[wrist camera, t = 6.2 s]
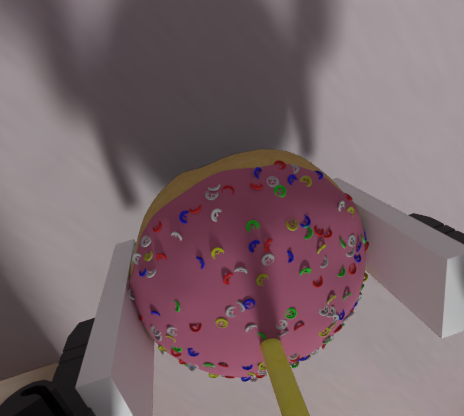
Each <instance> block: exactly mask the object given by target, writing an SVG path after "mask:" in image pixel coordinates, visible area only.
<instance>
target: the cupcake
mask: <svg viewBox="0 0 464 416" xmlns="http://www.w3.org/2000/svg"><path fill="white" fill-rule="evenodd" d="M352 200H353V198H352V197H351V196H350V195H349V194H347V193H344V192H343V191H342V190H341V189H340V188H339V187H338V185H337V184H336V183H335V182H334V181H333V180H332V179H331V178H330V177H329V176H327V175H326V174H325V173H324V172H322V171H321V170H320V169H319V168H317V167H316V166H315V165H313V164H312V163H311V162H309V161H308V160H306V159H304V158H302V157H300V156H298V155H296V154H294V153H291V152H287V151H283V150H272V149H258V150H253V151H248V152H243V153H238V154H234V155H231V156H228V157H225V158H222V159H220V160H218V161H216V162H213V163H211V164H209V165H206V166H204V167H202V168H199V169H195V170H191V171H187V172H184V173H182V174H180V175H178V176H177V177H175V178H174V179H173V180H172V181H171V182H170V183H169V184H168V185H167V186H166V187H165V188H164V189H163V190H162V191H161V192H160V193H159V194H158V195H157V197H156V198H155V199H154V201H153V202H152V204H151V205H150V207H149V209H148V211H147V213H146V215H145V217H144V219H143V222H142V225H141V228H140V231H139V235H138V239H137V242H136V246H135V250H134V254H133V256H132V264H131V269H130V281H129V290H128V296H129V298H130V299H132V300H133V301H134V304H135V307H136V310H137V312H138V315H139V319H140V321H142V323H143V324H144V326H145V328H146V329H147V331H148V332H149V334H150V335H151V337H152V338H153V339H154V341H155V342H156V343H157V344H158V345H159V346H158V349H159V350H160V351H161V353H162V354H163V355H165V351H166V352H168V353H169V354H170V355H172V356H173V357H175V358H177V359H178V360H179V363H180V364H184V365H185V366H187V367H188V368H189V369H190V370H191V371H195V370H196V369H197V368H198V369H201V370H203V371H206V372H209V377H211V378H216V377H218V376H219V375H221V376H222V377H225V378H235V377H238V378H241V380H242V381H248V380H250V381H251V382H256V381H257V378H263V377H266V376H267V373H268V374H269V377H270V380H271V383H272V386H273V389H274V392H275V395H276V398H277V402H278V405H279V408H280V411H281V414H282V416H310V415H309V413H308V410H307V407H306V405H305V402H304V400H303V397H302V395H301V392H300V390H299V387H298V385H297V382H296V379H295V377H294V374H293V372H292V369H291V368H296V367H297V366H298V365H299V361H304V360H308V359H310V357H311V356H310V355H314V354H317V353H318V352H319V350H318V349H319V348H320V347H321V346H322V345H323V346H322V349H324V347H325V345H326V343H328V342H330V341H332V340H333V338H334V337H333V335H334V334H335V333H336V332H338V331H339V330H340V329H341V328H342V326H344V325H345V324H343V323H344V321H346V320H347V319H348V318H349V317H351V316H352V315H353V314H354V312H353V310H354V307H355V306H356V305H357V303H358V301H359V300H360V299H361V295H362V293H361V292H360V291H361V290H362V289H363V287H364V284H363V282H365V281H366V280H367V279H368V275H367V273H364V272H365V265H366V251H367V249H368V247H369V242H366V240H367V239H366V237H365V235H366V232H365V231H364V229H363V225H362V221H361V218H360V214H359V211H358V209H357V207H356V205H355V204H354V202H353V201H352ZM364 234H365V235H364ZM364 275H365V276H364ZM364 277H365V279H364ZM362 284H363V285H362ZM130 294H131V295H132V296H131V295H130ZM351 313H352V314H351ZM348 315H349V316H348ZM315 351H316V352H315ZM312 352H314V353H312ZM294 364H296V365H294ZM293 365H294V366H293ZM212 375H215V376H212ZM247 377H248V378H247ZM251 377H253V379H251ZM245 378H247V379H245ZM254 378H255V379H254Z"/></svg>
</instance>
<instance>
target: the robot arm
mask: <svg viewBox="0 0 464 416" xmlns="http://www.w3.org/2000/svg"><path fill="white" fill-rule="evenodd" d="M332 180H333V181H334V182H335V183H336V184H337V185H338V187H339V188H340V189H341V190H342V191H343V192H344V193H347V194H349V195H350V196H351V197H352V198H353V200H352V201H353V202H354V204H355V205H356V207H357V209H358V211H359V214H360V218H361V221H362V225H363V229H364V231H365V232H366V235H365V234H364V235H365V237H366V239H367V240H366V242H369V247H368V249H367V251H366V265H365V270H366V271H367V272H368V273H370V274H371V275H372V276H373V277H374V278H375V279H376V280H377V281H378V282H379V283H381V284H382V285H383V286H384V287H385V288H386V289H387V290H388V291H389V292H391V293H392V294H393V295H394V296H395V297H396V298H397V299H398V300H399V301H400V302H402V303H403V304H404V305H405V306H406V307H407V308H408V309H409V310H410V311H411V312H413V313H414V314H415V315H416V316H417V317H418V318H419V319H420V320H421V321H422V322H424V323H425V324H426V325H427V326H428V327H429V328H430V329H431V330H432V331H434V332H435V333H436V334H437V335H438V336H439V337H440V338H441V339H443V338H445V337H448V336H451V335H453V334H456V333H459V332H461V331H464V234H463V233H461V232H459V231H455V229H453V228H451V227H449V226H447V225H444V224H443V223H441V222H439V221H437V220H435V219H433V218H431V217H427V216H423V215H419V214H415V213H413V214H410V215H407V214H405V213H403V212H401V211H399V210H397V209H396V208H394V207H392V206H390V205H388V204H386V203H384V202H382V201H380V200H378V199H377V198H375V197H373V196H371V195H369V194H367V193H365V192H363V191H361V190H360V189H358V188H356V187H354V186H352V185H350V184H348V183H346V182H344V181H343V180H341V179H339V178H335V179H332ZM135 246H136V242H135V240H134V239H133V240H129V241H126V242H123V243H119V244H116V246H115V250H114V253H113V257H112V260H111V264H110V267H109V271H108V274H107V278H106V281H105V285H104V288H103V292H102V295H101V299H100V302H99V306H98V309H97V313H96V316H95V318H93V319H89V320H86V321H83V322H80V323H79V324H78V325H77V326H76V327H75V329H74V330H73V331H72V333H71V334H70V335H69V336H68V339H67V341H66V344H65V347H64V349H63V354H62V355H61V357H60V360H59V366H57V368H56V371H55V374H54V376H53V379H52V381H48V380H40V381H35V382H32V383H30V384H28V385H26V386H24V387H22V388H20V389H19V390H17V391H16V392H15V393H13V394H12V395H11V396H9V397H8V398H7V399H6V400H5V401H4V402H3V403H2V404H1V405H0V416H152V408H153V371H154V339H153V338H152V337H151V335H150V334H149V332H148V331H147V329H146V328H145V326H144V324H143V323H142V321H140V319H139V315H138V312H137V310H136V307H135V304H134V301H133V300H132V299H130V298H129V296H128V290H129V281H130V269H131V264H132V256H133V254H134V250H135ZM130 295H131V294H130ZM131 296H132V295H131Z"/></svg>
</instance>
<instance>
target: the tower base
mask: <svg viewBox="0 0 464 416" xmlns="http://www.w3.org/2000/svg"><path fill="white" fill-rule="evenodd" d="M57 366H59V362H56V363H53V364H50V365H47V366H44V367H41V368H38V369H35V370H32V371H29V372H26V373H23V374H20V375H17V376H14V377H11V378H8V379H5V380H2V381H0V405H1V404H2V403H3V402H4V401H5V400H6V399H7V398H8V397H9V396H11V395H12V394H13V393H15V392H16V391H17V390H19V389H20V388H22V387H24V386H26V385H28V384H30V383H32V382H35V381H40V380H48V381H52V379H53V376H54V374H55V371H56V368H57Z"/></svg>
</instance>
